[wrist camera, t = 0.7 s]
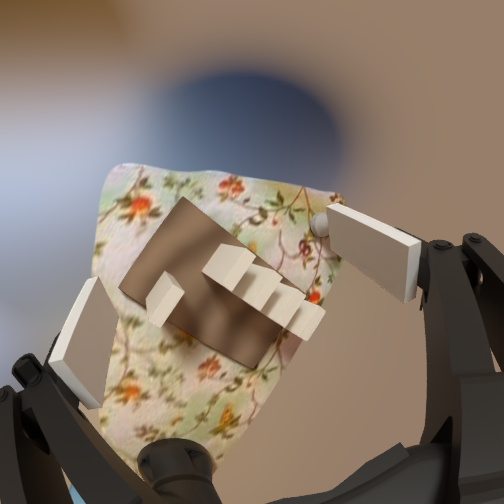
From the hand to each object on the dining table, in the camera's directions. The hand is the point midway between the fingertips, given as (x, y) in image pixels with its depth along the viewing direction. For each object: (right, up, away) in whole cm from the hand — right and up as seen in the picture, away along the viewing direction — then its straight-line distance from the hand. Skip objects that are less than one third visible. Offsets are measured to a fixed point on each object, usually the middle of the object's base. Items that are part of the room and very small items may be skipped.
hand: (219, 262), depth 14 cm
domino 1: (-11, -5, +23) cm, 26 cm away
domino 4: (+3, -6, +30) cm, 30 cm away
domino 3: (0, -3, +28) cm, 28 cm away
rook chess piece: (+14, +6, +35) cm, 38 cm away
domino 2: (-4, -1, +26) cm, 27 cm away
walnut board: (-4, -5, +28) cm, 29 cm away
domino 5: (+6, -9, +31) cm, 33 cm away
